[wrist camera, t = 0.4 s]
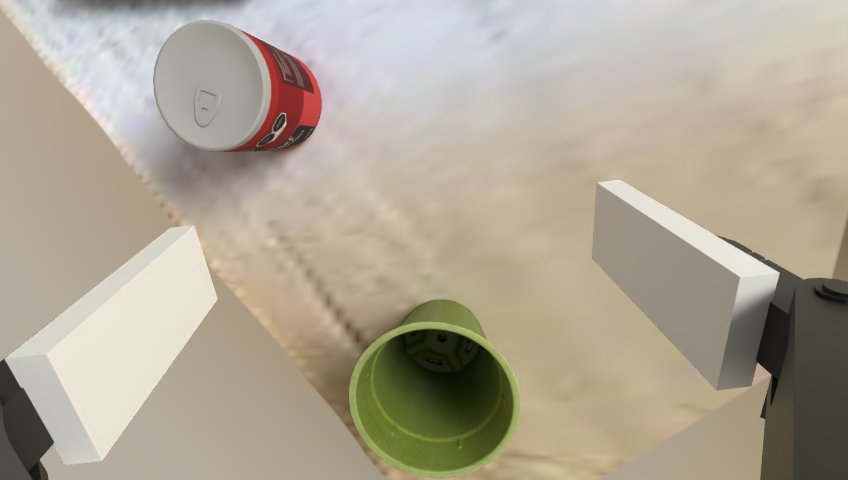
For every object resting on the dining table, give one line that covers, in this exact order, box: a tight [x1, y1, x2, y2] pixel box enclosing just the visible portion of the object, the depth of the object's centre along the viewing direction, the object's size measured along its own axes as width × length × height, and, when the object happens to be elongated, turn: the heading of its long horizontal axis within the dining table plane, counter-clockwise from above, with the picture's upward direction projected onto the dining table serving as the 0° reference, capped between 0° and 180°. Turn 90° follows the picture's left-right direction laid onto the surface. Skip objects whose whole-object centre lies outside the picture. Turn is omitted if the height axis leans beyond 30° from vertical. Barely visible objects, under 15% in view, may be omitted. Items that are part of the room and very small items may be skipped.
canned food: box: [153, 20, 322, 152], centre depth 33 cm, size 8×8×11 cm
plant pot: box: [349, 300, 521, 478], centre depth 36 cm, size 12×12×11 cm
